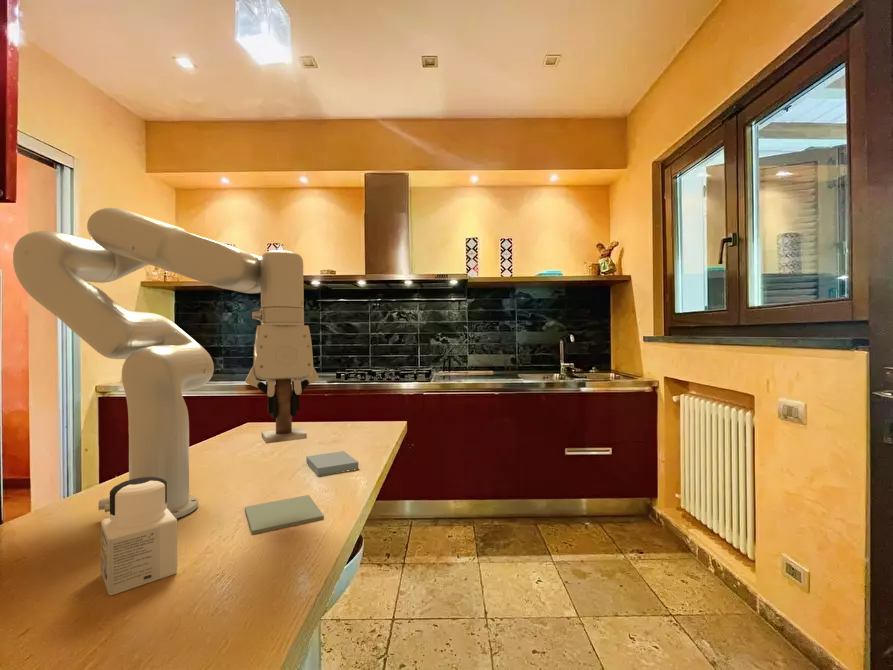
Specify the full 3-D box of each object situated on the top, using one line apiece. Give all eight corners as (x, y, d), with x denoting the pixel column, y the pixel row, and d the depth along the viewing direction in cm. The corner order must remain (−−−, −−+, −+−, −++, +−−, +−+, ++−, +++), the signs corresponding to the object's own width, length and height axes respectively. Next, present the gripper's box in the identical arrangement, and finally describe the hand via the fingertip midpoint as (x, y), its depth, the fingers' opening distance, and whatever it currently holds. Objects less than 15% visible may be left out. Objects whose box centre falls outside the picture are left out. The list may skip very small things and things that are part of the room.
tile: (317, 468, 102) (358, 462, 108) (306, 456, 113) (343, 451, 118) (317, 477, 102) (358, 471, 108) (306, 464, 113) (343, 459, 118)
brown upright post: (266, 443, 76) (265, 375, 76) (261, 437, 81) (261, 373, 81) (306, 438, 80) (306, 373, 80) (299, 432, 85) (299, 371, 85)
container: (100, 574, 60) (100, 481, 60) (165, 554, 66) (164, 469, 66) (108, 597, 55) (108, 495, 55) (178, 573, 60) (177, 481, 60)
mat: (251, 534, 72) (251, 530, 72) (244, 509, 83) (244, 506, 83) (323, 518, 78) (323, 515, 78) (308, 497, 89) (308, 494, 89)
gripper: (236, 316, 73) (237, 424, 73) (331, 317, 82) (332, 415, 81) (233, 318, 80) (233, 417, 80) (321, 319, 88) (322, 409, 88)
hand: (283, 415), depth 81 cm, fingers closed on brown upright post, 2 cm apart
